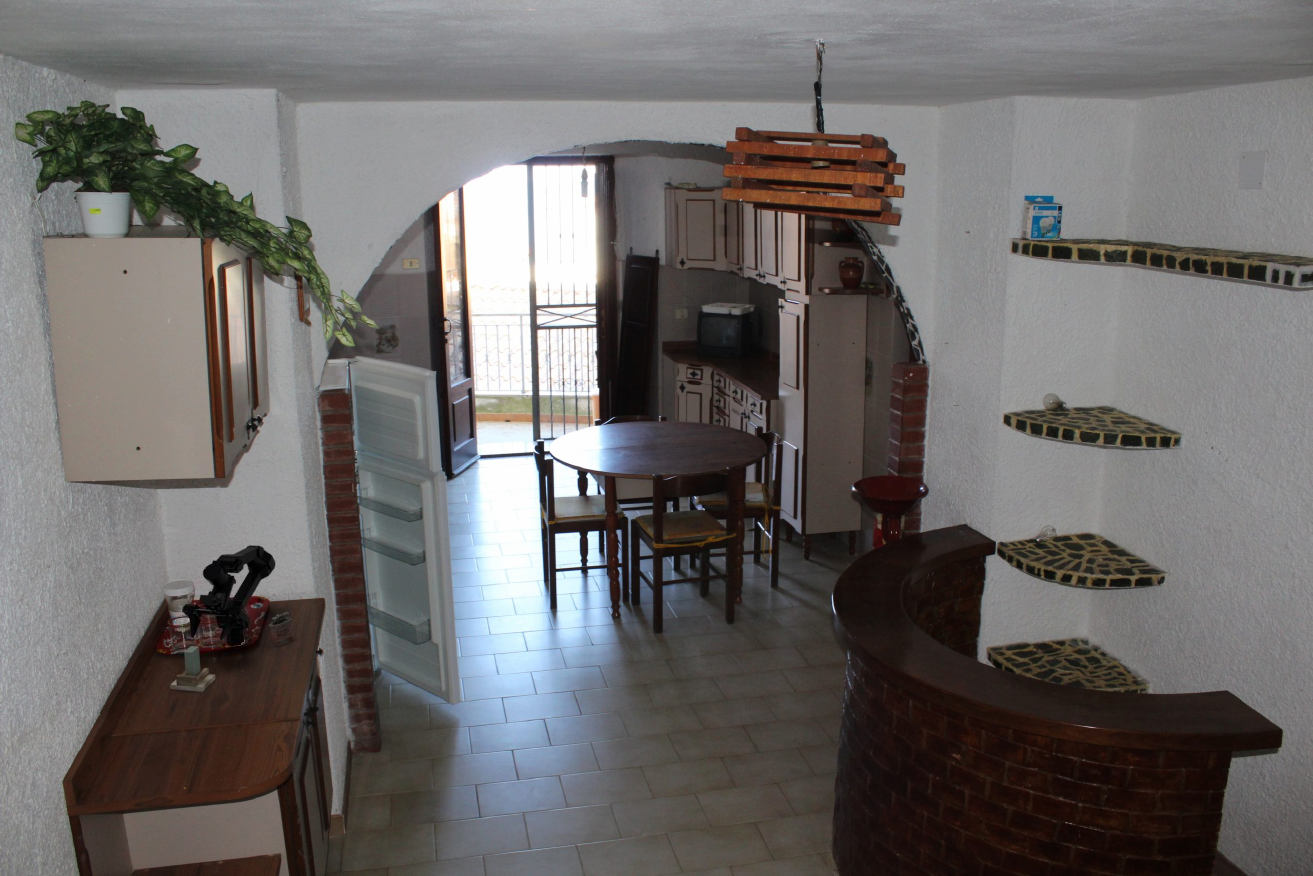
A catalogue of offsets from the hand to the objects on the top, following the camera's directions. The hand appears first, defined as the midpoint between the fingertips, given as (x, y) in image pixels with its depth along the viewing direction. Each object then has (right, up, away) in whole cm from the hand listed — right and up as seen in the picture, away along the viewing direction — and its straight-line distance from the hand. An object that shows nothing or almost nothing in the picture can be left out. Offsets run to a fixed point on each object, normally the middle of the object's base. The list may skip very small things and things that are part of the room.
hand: (206, 638), depth 316 cm
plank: (-1, -11, -6) cm, 13 cm away
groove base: (-1, -13, -6) cm, 14 cm away
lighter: (+15, -6, +23) cm, 28 cm away
